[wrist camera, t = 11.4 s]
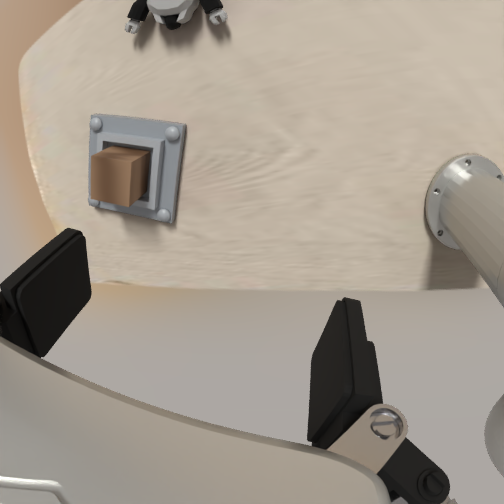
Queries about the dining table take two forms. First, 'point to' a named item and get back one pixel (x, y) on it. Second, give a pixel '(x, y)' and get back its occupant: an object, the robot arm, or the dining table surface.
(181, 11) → the robot toy
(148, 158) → the walnut cube
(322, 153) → the dining table surface
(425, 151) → the dining table surface
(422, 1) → the dining table surface
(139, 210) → the base plate
